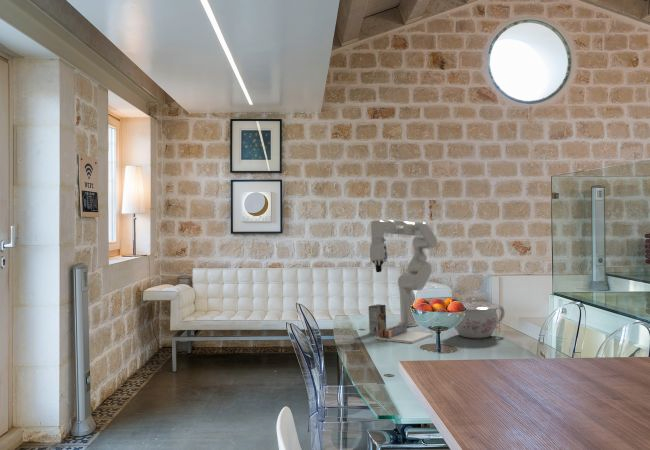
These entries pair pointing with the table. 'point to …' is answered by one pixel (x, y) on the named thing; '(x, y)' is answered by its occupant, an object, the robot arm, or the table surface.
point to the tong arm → (394, 331)
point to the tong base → (382, 332)
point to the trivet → (408, 337)
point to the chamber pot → (479, 319)
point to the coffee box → (377, 318)
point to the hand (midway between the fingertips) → (378, 271)
